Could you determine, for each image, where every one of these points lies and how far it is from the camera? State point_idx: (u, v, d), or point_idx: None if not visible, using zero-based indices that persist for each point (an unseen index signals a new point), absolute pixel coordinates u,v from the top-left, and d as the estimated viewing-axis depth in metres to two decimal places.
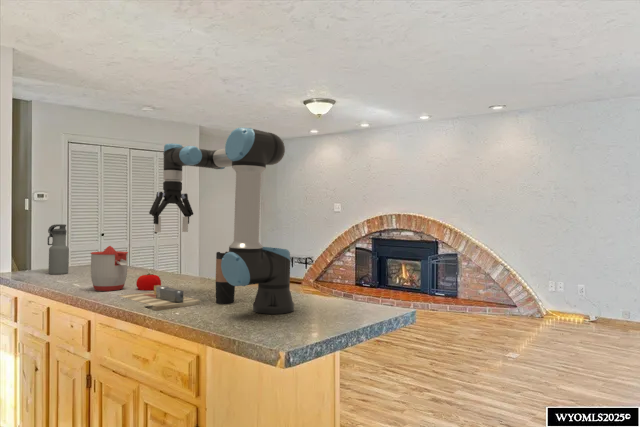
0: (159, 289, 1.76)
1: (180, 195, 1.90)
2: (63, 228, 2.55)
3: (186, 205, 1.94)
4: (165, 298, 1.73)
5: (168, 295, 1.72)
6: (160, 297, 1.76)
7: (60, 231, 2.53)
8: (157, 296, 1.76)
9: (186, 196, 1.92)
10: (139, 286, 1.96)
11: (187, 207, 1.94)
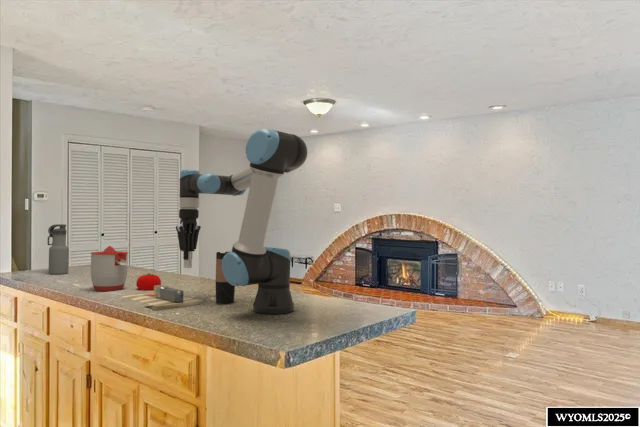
0: (159, 289, 1.76)
1: (195, 223, 1.82)
2: (63, 228, 2.55)
3: (194, 237, 1.83)
4: (165, 298, 1.73)
5: (168, 295, 1.72)
6: (160, 297, 1.76)
7: (60, 231, 2.53)
8: (157, 296, 1.76)
9: (199, 228, 1.84)
10: (139, 286, 1.96)
11: (194, 239, 1.83)
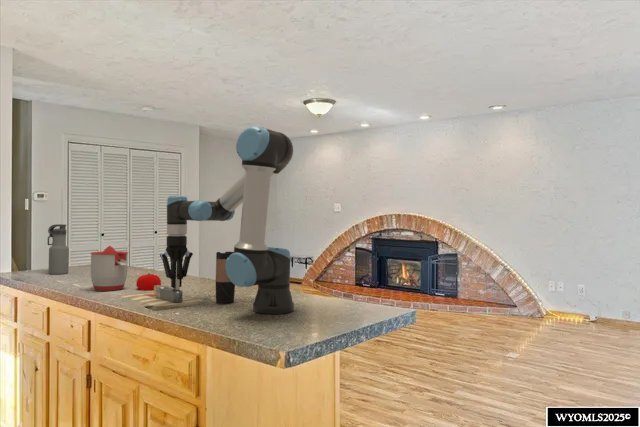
0: (159, 289, 1.76)
1: (185, 250, 1.77)
2: (63, 228, 2.55)
3: (185, 264, 1.78)
4: (164, 298, 1.73)
5: (167, 295, 1.72)
6: (160, 297, 1.76)
7: (60, 231, 2.53)
8: (157, 296, 1.76)
9: (190, 255, 1.78)
10: (139, 286, 1.96)
11: (184, 266, 1.78)
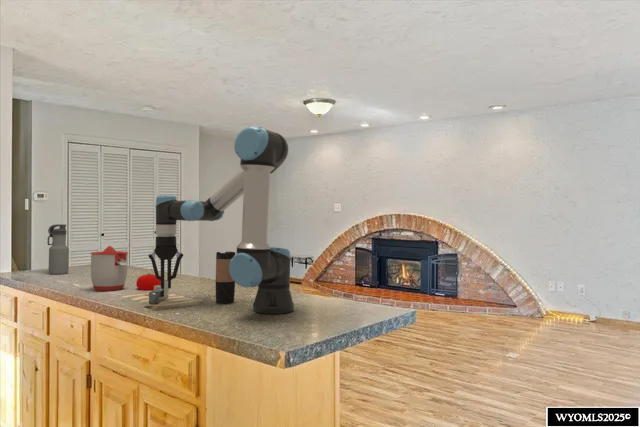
0: (156, 289, 1.77)
1: (174, 251, 1.73)
2: (63, 228, 2.55)
3: (175, 265, 1.74)
4: None
5: None
6: None
7: (60, 231, 2.53)
8: None
9: (180, 256, 1.73)
10: (139, 286, 1.96)
11: (174, 267, 1.73)
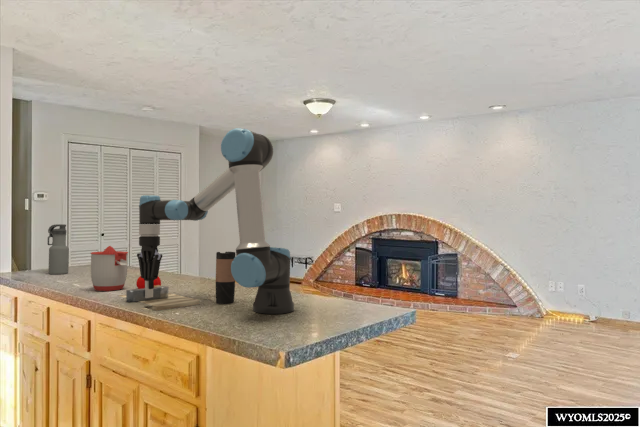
0: None
1: (152, 251, 1.70)
2: (63, 228, 2.55)
3: None
4: None
5: None
6: None
7: (60, 231, 2.53)
8: None
9: (155, 257, 1.68)
10: (139, 286, 1.96)
11: None
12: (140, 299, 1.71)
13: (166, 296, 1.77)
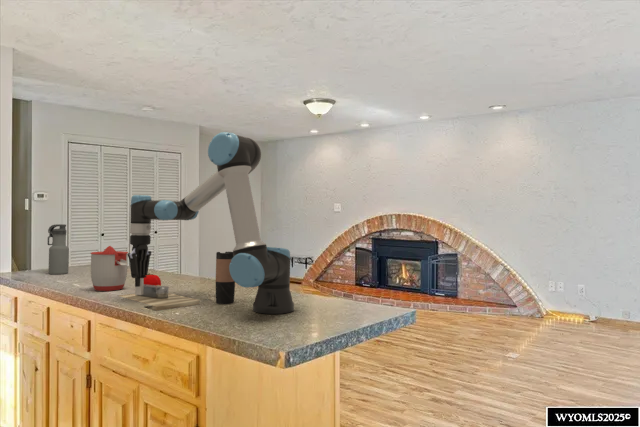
0: None
1: None
2: (63, 228, 2.55)
3: None
4: None
5: None
6: None
7: (60, 231, 2.53)
8: None
9: None
10: None
11: None
12: None
13: (159, 296, 1.76)
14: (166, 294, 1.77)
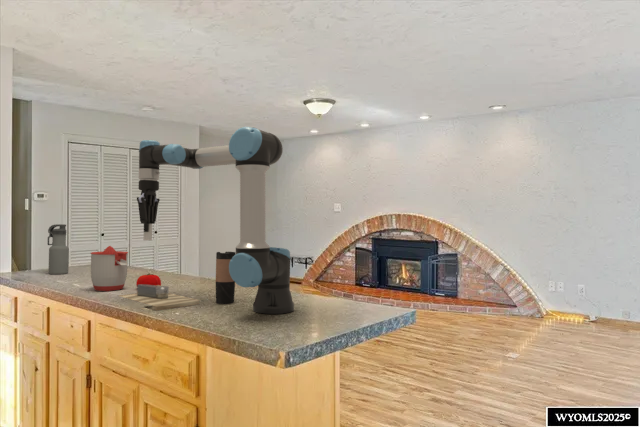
0: None
1: None
2: (63, 228, 2.55)
3: None
4: None
5: None
6: None
7: (60, 231, 2.53)
8: None
9: None
10: None
11: None
12: (142, 294, 1.81)
13: (159, 296, 1.76)
14: (166, 294, 1.77)
